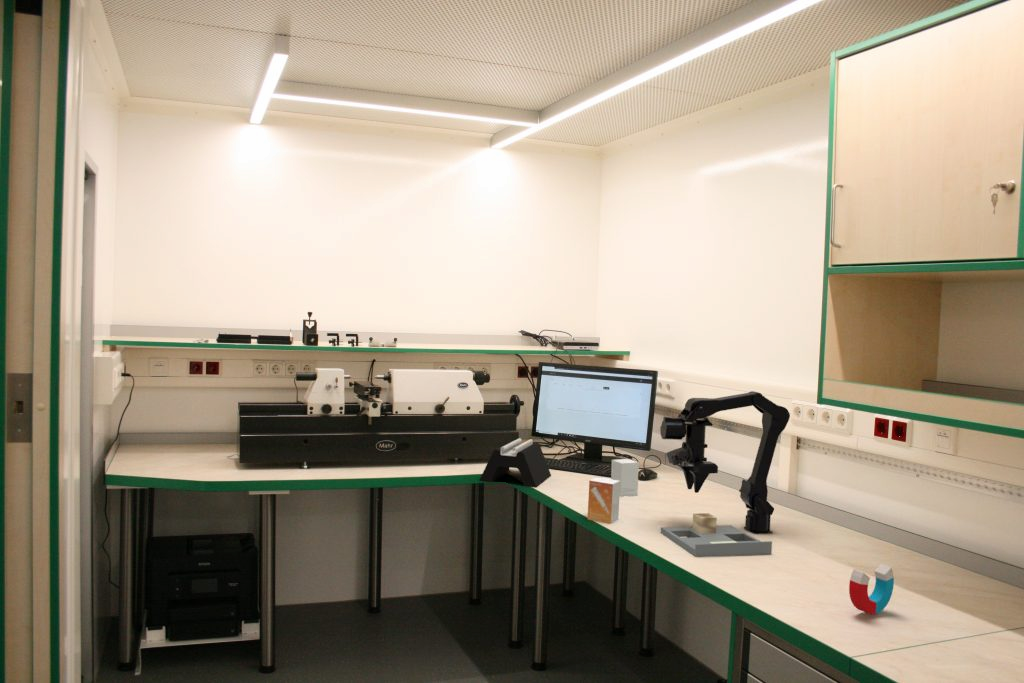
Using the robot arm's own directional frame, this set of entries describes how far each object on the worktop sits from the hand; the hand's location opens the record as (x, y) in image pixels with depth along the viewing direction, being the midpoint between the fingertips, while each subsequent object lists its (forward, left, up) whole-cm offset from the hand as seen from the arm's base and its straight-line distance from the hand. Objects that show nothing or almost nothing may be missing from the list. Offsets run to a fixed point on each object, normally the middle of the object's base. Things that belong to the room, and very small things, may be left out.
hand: (693, 490), depth 231 cm
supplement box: (+4, -44, -12) cm, 46 cm away
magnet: (-10, +66, -12) cm, 68 cm away
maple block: (0, +8, -10) cm, 13 cm away
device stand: (+38, -70, -12) cm, 80 cm away
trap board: (0, +14, -12) cm, 18 cm away
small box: (+24, -12, -12) cm, 29 cm away
